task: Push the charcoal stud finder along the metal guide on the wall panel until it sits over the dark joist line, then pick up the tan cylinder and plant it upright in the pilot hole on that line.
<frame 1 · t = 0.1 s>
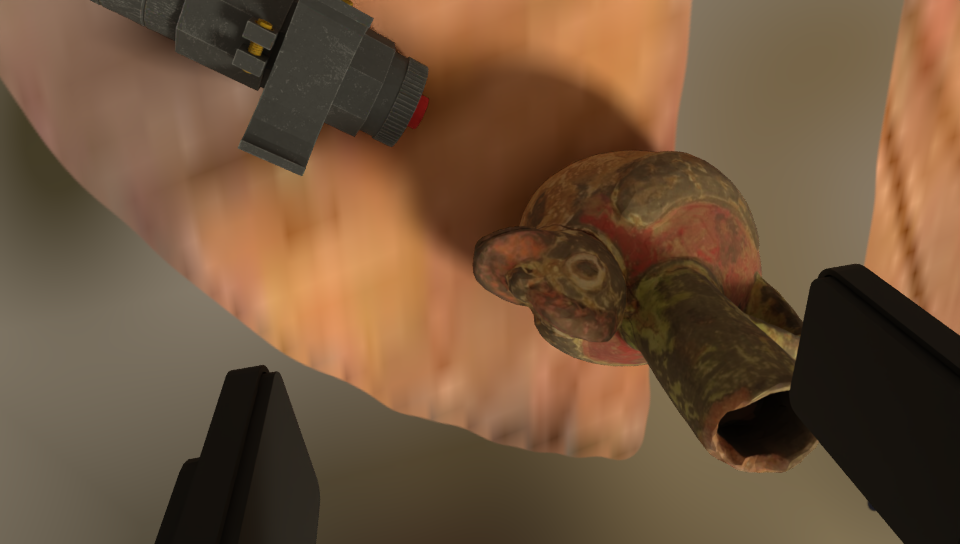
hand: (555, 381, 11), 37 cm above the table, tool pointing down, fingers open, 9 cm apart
laser sight: (265, 21, 41), on the table
ceramic vessel: (594, 216, 52), on the table
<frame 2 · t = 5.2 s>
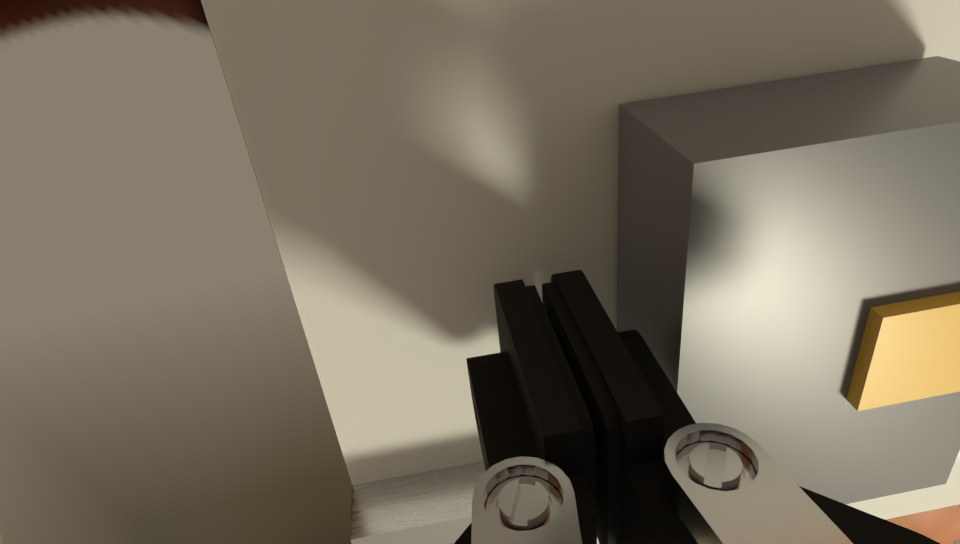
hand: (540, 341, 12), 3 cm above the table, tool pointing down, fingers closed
wall panel: (903, 116, 14), on the table
stud finder: (800, 313, 12), point 4 cm above the table, slide at 0.4 cm, touching gripper
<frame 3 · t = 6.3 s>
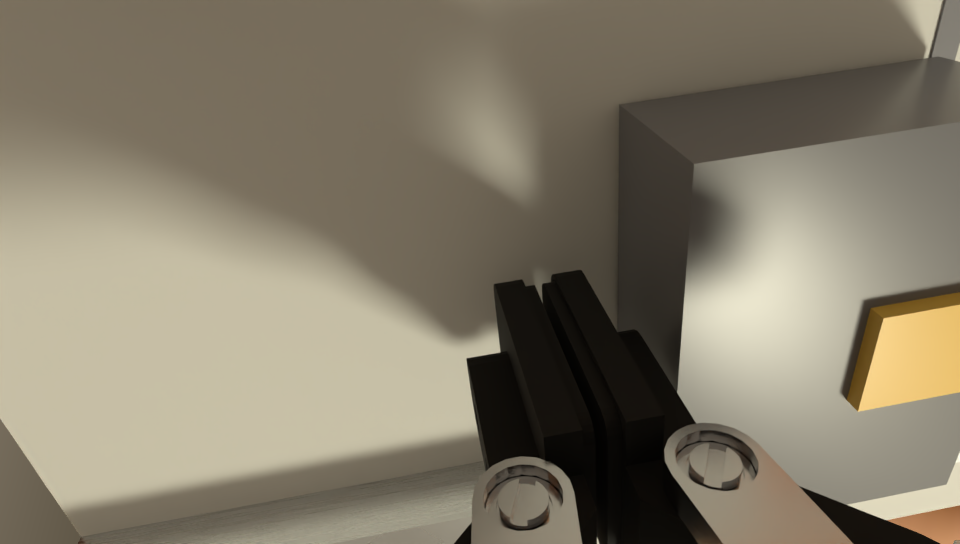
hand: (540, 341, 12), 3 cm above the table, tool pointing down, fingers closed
wall panel: (639, 158, 14), on the table
stud finder: (800, 314, 12), point 4 cm above the table, slide at 6.8 cm, touching gripper
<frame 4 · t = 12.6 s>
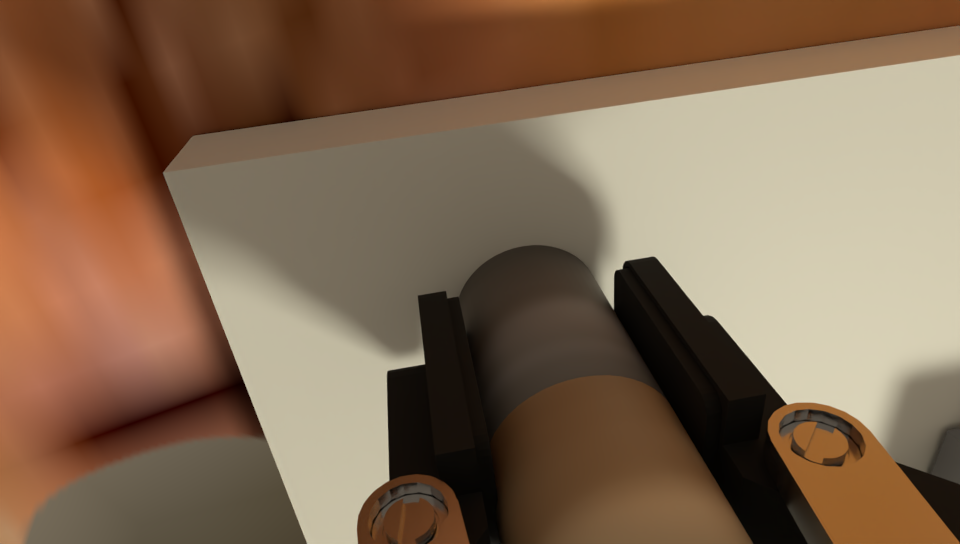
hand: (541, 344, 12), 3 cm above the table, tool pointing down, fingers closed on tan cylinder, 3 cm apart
tan cylinder: (528, 309, 13), point 2 cm above the table, touching gripper, wall panel
wall panel: (784, 443, 19), on the table
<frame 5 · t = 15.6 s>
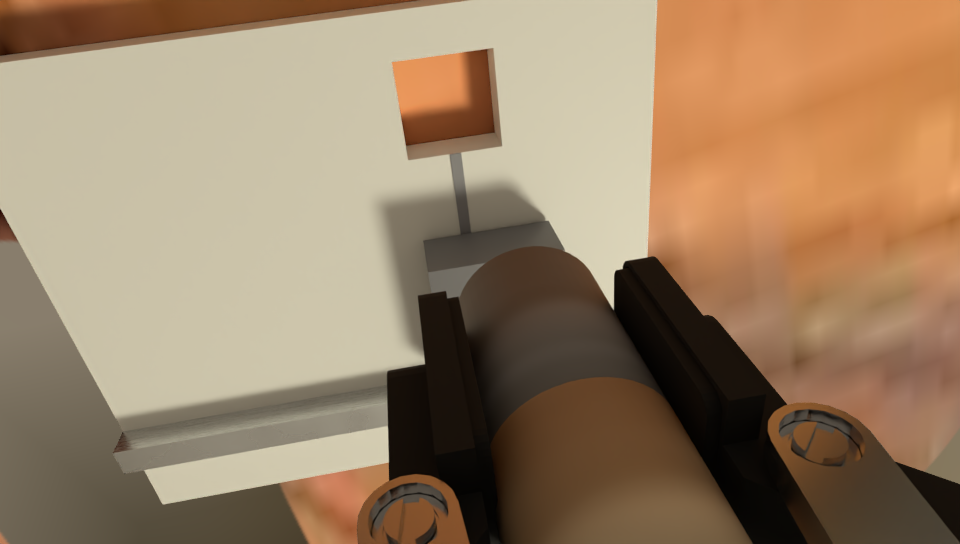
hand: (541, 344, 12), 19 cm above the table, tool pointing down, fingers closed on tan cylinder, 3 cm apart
tan cylinder: (528, 310, 13), point 18 cm above the table, touching gripper
wall panel: (368, 264, 32), on the table
stud finder: (499, 319, 30), point 4 cm above the table, slide at 11.0 cm
when the fingers open (3 cm above the table, at t = 18.7 s): tan cylinder drops 2 cm, resting in wall panel.
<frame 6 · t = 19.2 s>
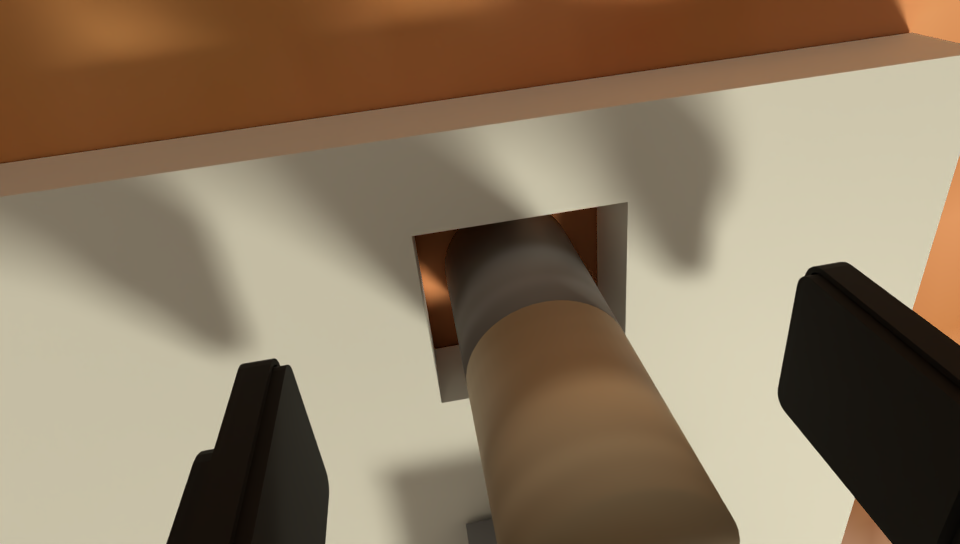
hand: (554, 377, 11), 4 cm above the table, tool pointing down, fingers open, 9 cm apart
tan cylinder: (508, 262, 15), resting in wall panel
wall panel: (365, 523, 18), on the table
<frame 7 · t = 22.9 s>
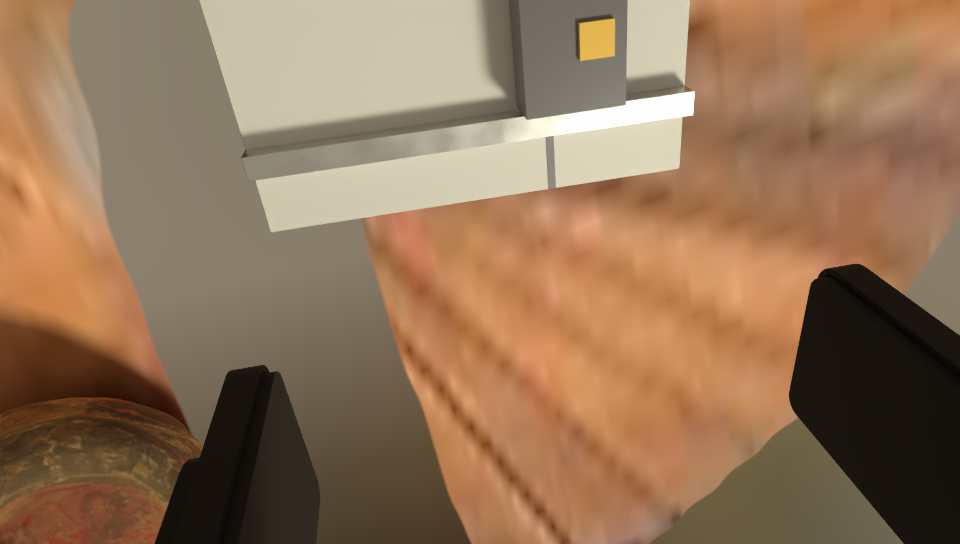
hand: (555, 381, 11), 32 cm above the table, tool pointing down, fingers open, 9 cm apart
ceramic vessel: (103, 431, 50), on the table
wall panel: (454, 5, 38), on the table
stud finder: (568, 37, 36), point 4 cm above the table, slide at 11.0 cm
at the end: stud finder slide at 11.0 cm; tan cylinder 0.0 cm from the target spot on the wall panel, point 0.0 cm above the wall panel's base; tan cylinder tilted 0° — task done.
